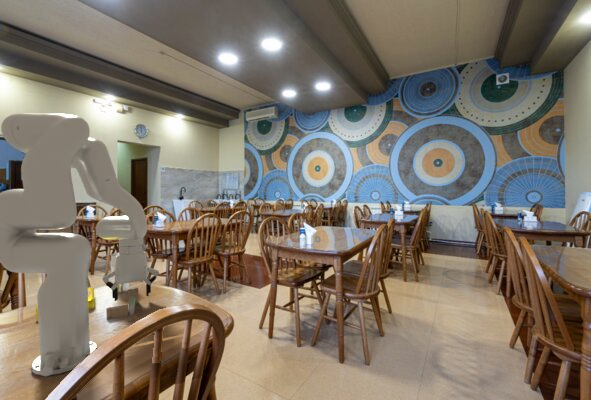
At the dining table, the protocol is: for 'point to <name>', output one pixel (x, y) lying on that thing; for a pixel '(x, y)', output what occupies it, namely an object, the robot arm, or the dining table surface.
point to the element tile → (90, 301)
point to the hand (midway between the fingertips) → (132, 297)
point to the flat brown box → (119, 311)
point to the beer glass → (121, 287)
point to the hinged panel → (133, 296)
